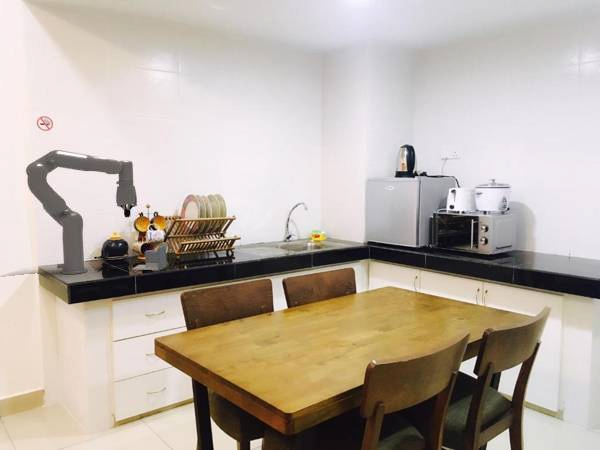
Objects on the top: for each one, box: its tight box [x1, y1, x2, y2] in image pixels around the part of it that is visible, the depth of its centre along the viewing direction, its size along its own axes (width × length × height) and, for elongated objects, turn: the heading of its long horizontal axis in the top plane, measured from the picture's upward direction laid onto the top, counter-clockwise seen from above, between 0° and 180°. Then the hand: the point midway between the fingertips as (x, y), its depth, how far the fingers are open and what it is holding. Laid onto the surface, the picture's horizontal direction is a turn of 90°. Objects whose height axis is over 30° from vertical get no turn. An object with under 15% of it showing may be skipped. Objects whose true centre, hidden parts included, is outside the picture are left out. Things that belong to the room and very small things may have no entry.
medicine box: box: [144, 249, 158, 267], centre depth 266 cm, size 8×4×9 cm, turn 89°
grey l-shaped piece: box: [131, 244, 168, 272], centre depth 266 cm, size 15×11×12 cm
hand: (127, 217), depth 272 cm, fingers closed
